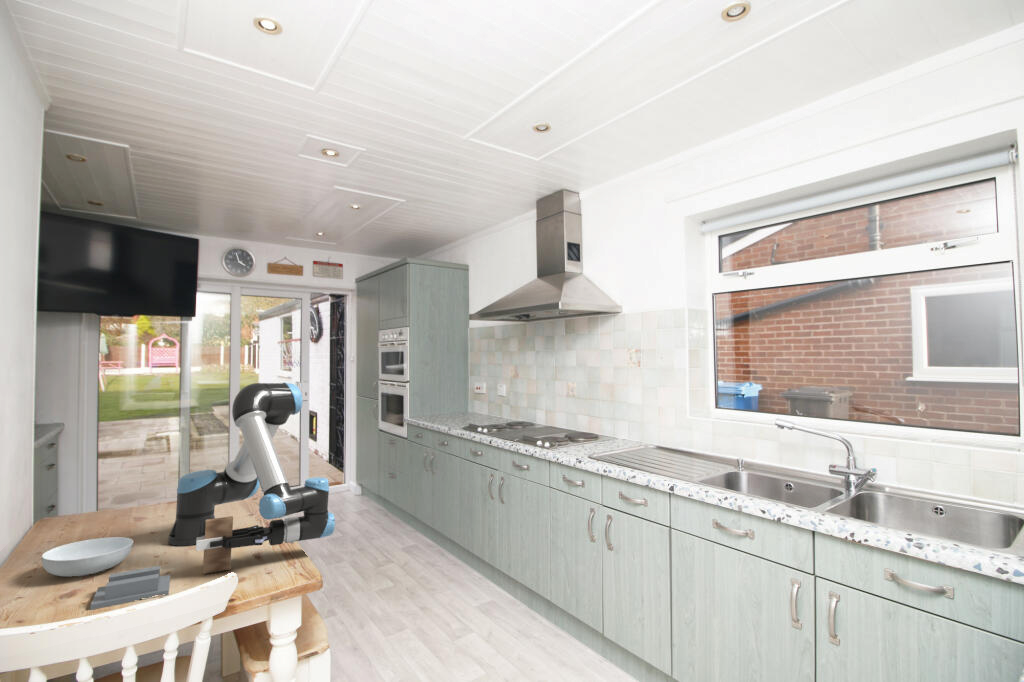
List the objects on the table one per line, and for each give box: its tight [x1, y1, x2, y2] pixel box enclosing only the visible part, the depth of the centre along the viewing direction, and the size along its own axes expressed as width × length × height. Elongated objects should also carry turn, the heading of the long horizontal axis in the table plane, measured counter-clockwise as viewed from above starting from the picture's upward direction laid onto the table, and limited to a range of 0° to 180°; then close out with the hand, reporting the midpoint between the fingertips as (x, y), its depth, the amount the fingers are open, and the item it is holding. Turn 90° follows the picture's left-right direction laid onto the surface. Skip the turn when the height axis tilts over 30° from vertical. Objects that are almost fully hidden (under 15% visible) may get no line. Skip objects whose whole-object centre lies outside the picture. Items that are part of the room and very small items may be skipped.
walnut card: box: [202, 515, 234, 575], centre depth 146 cm, size 7×2×15 cm, turn 123°
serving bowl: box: [41, 536, 134, 577], centre depth 145 cm, size 21×21×7 cm
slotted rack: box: [89, 565, 171, 610], centre depth 131 cm, size 16×12×5 cm
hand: (196, 544), depth 143 cm, fingers closed on walnut card, 2 cm apart
